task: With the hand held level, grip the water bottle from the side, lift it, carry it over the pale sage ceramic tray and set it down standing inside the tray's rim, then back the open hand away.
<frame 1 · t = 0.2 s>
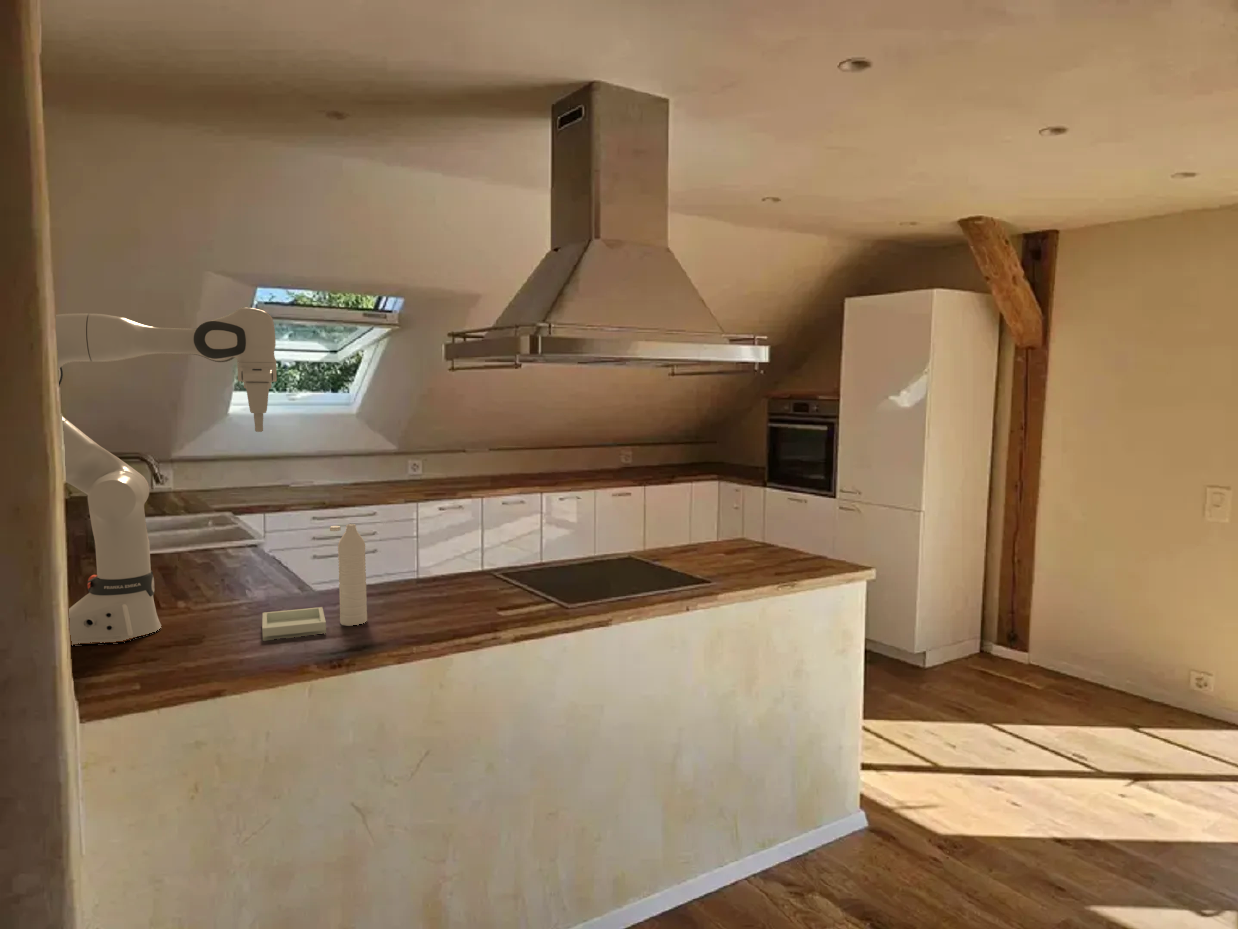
hand: (259, 430, 209), 48 cm above the worktop, tool pointing down, fingers open, 8 cm apart
sage tray: (294, 629, 205), on the worktop
water bottle: (349, 624, 210), on the worktop
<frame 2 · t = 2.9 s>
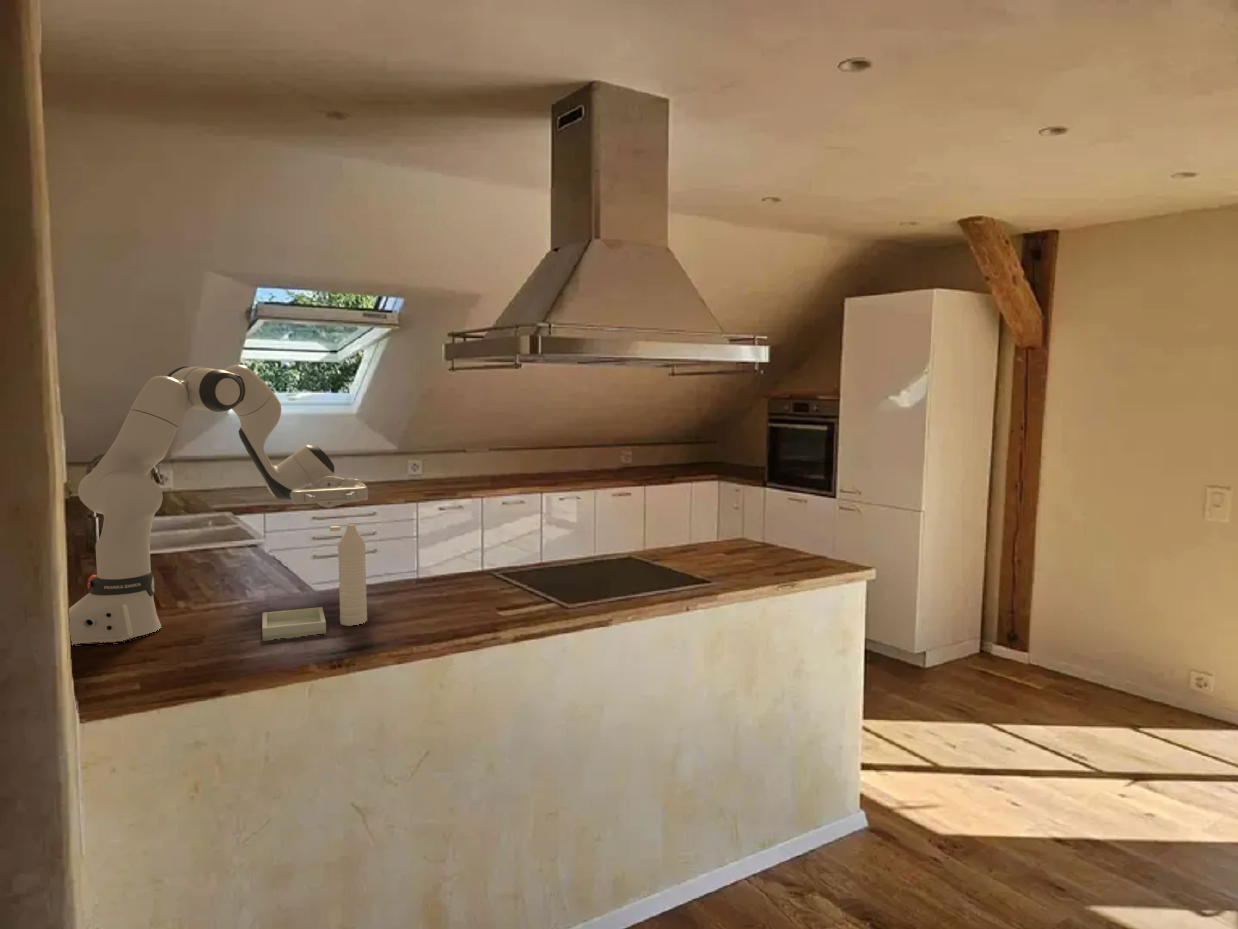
hand: (331, 498, 227), 28 cm above the worktop, tool horizontal, fingers open, 8 cm apart
nothing on the worktop moved.
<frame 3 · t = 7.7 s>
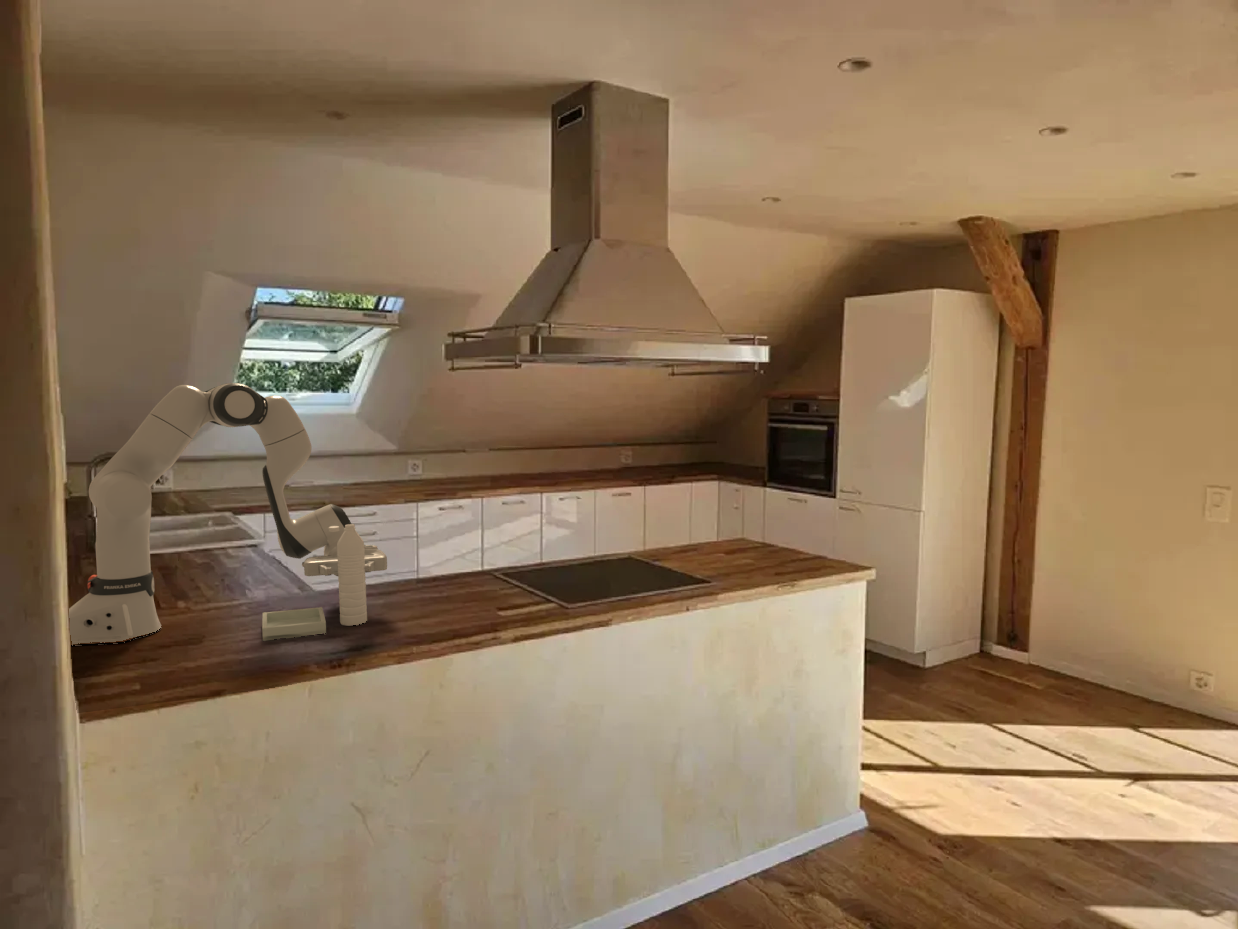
hand: (348, 570, 208), 13 cm above the worktop, tool horizontal, fingers open, 8 cm apart
water bottle: (349, 624, 210), on the worktop, touching gripper
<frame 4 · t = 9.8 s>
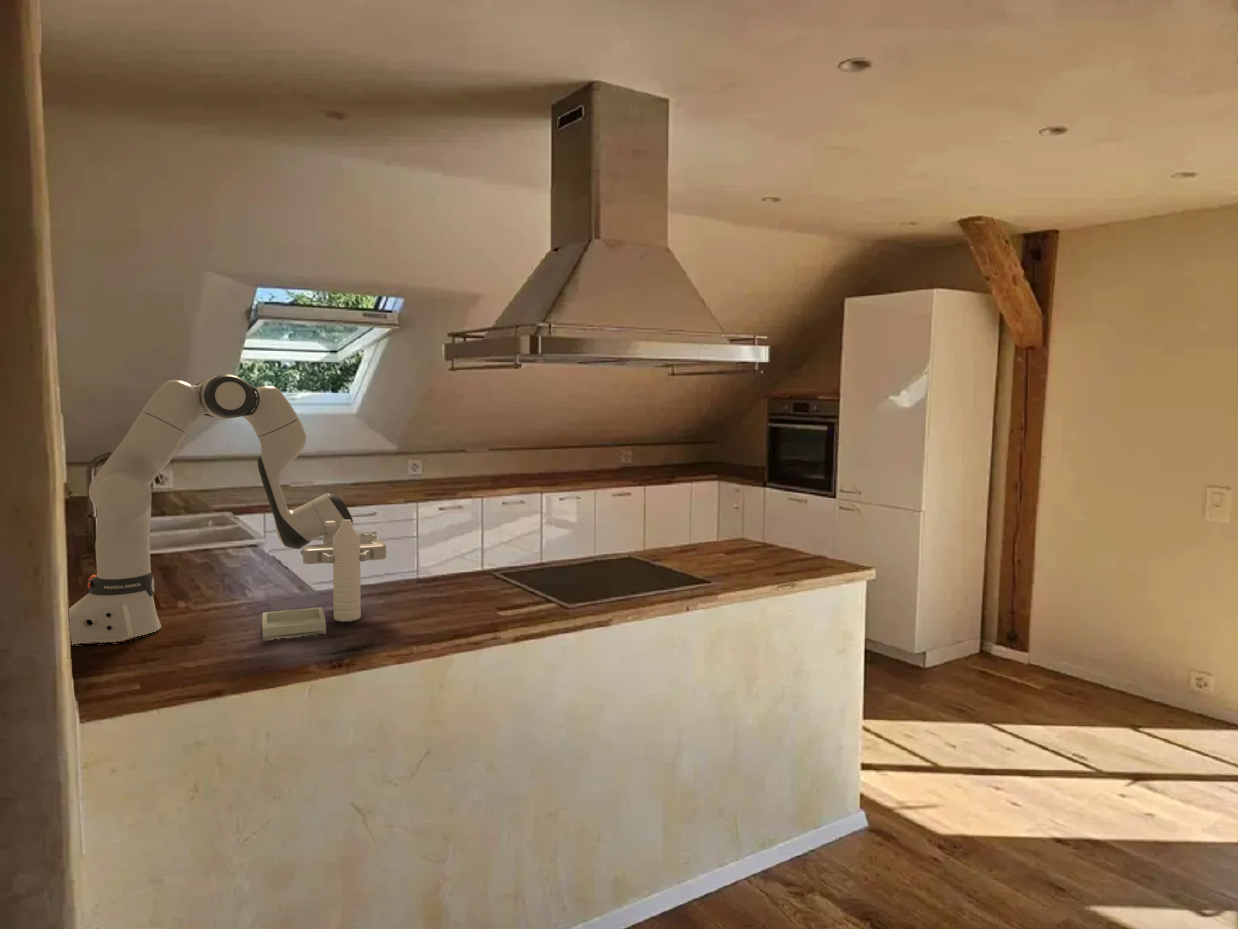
hand: (347, 559, 207), 17 cm above the worktop, tool horizontal, fingers closed on water bottle, 6 cm apart
water bottle: (343, 619, 209), point 1 cm above the worktop, touching gripper
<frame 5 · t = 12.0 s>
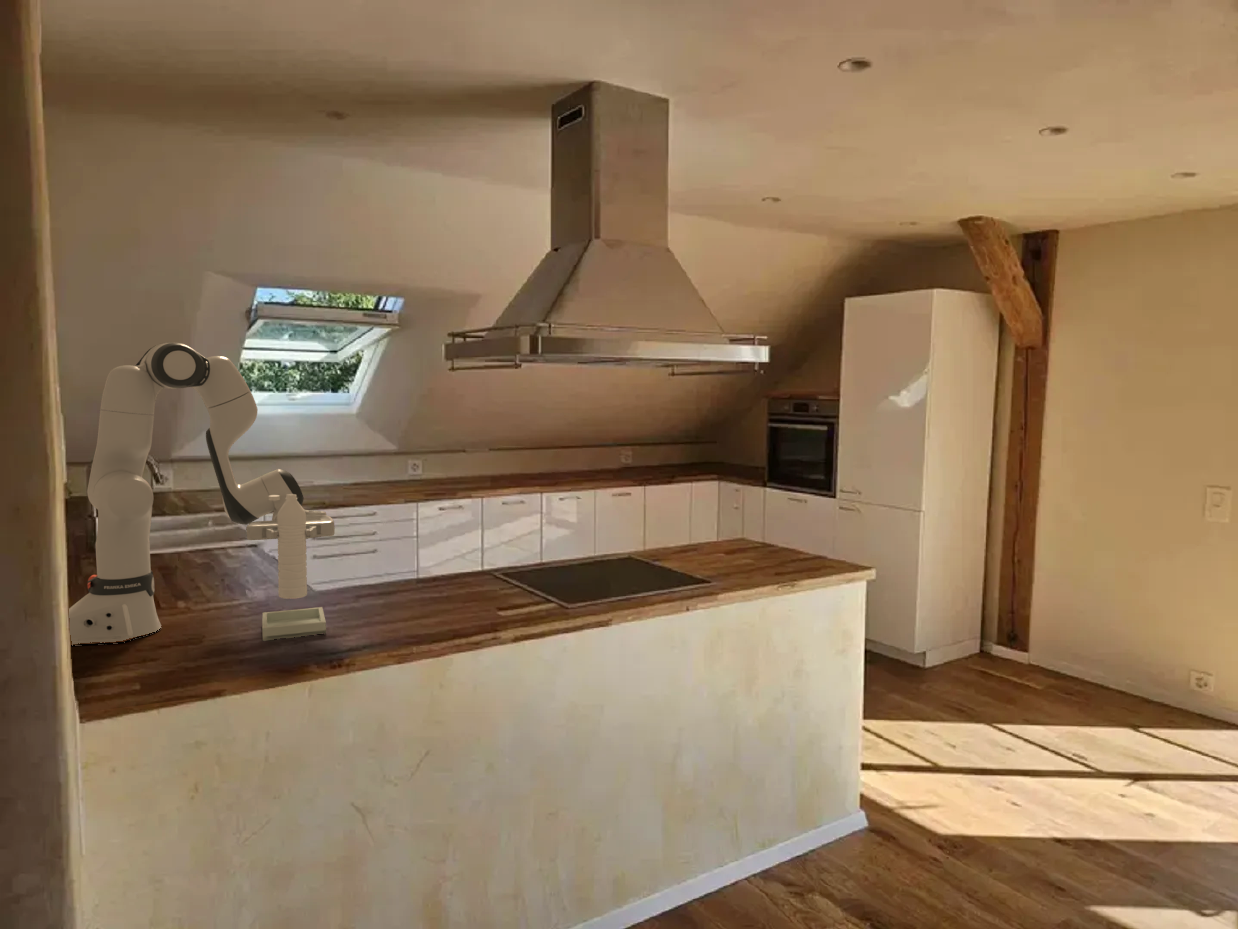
hand: (292, 534, 202), 24 cm above the worktop, tool horizontal, fingers closed on water bottle, 6 cm apart
water bottle: (288, 597, 204), point 8 cm above the worktop, touching gripper
when the fingers open (18 cm above the worktop, at t = 14.4 s): water bottle drops 2 cm, resting on sage tray.
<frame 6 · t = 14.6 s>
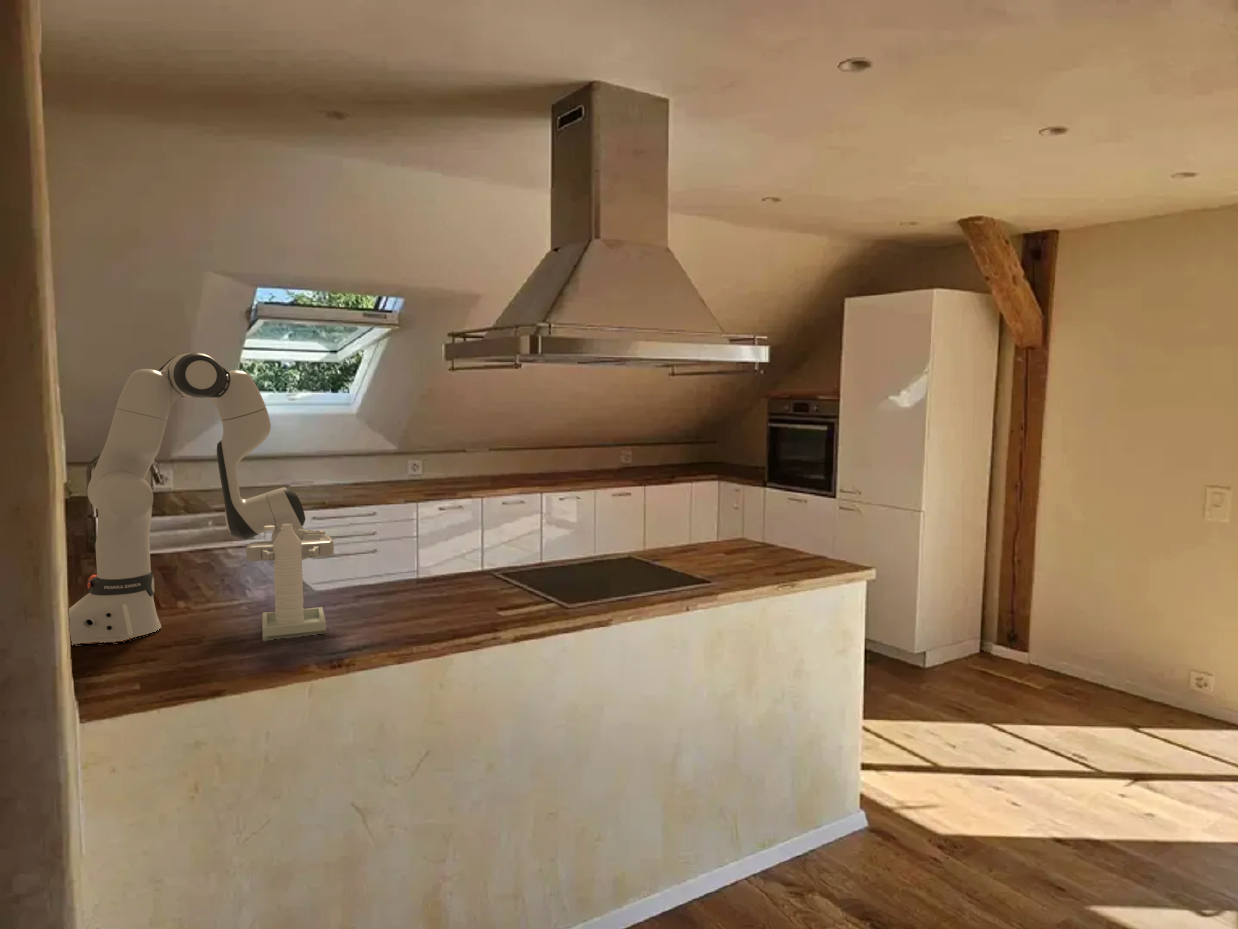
hand: (291, 555, 202), 18 cm above the worktop, tool horizontal, fingers open, 8 cm apart
water bottle: (285, 626, 204), point 1 cm above the worktop, touching gripper, sage tray
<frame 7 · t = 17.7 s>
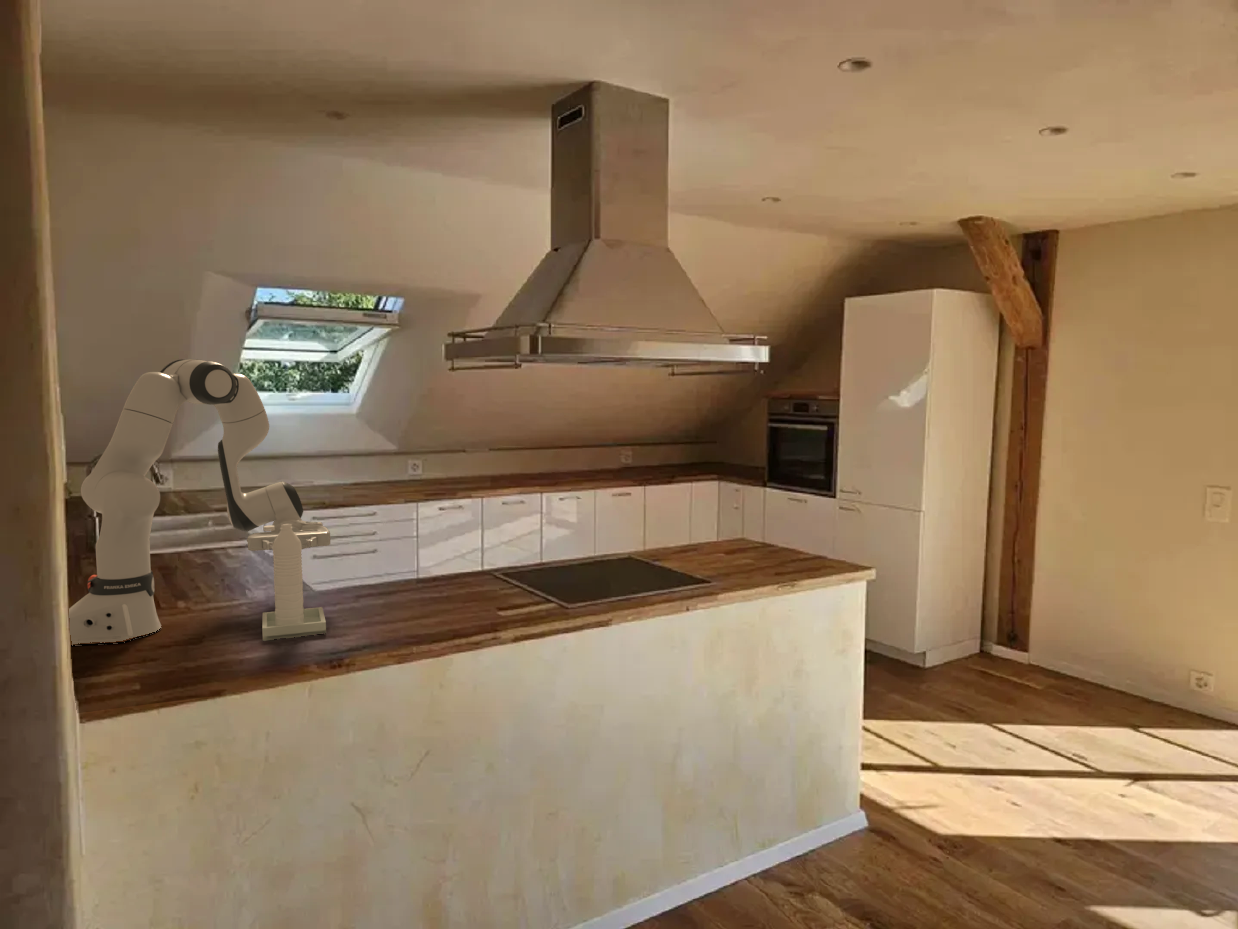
hand: (290, 545, 214), 19 cm above the worktop, tool horizontal, fingers open, 8 cm apart
water bottle: (285, 626, 204), point 1 cm above the worktop, touching sage tray
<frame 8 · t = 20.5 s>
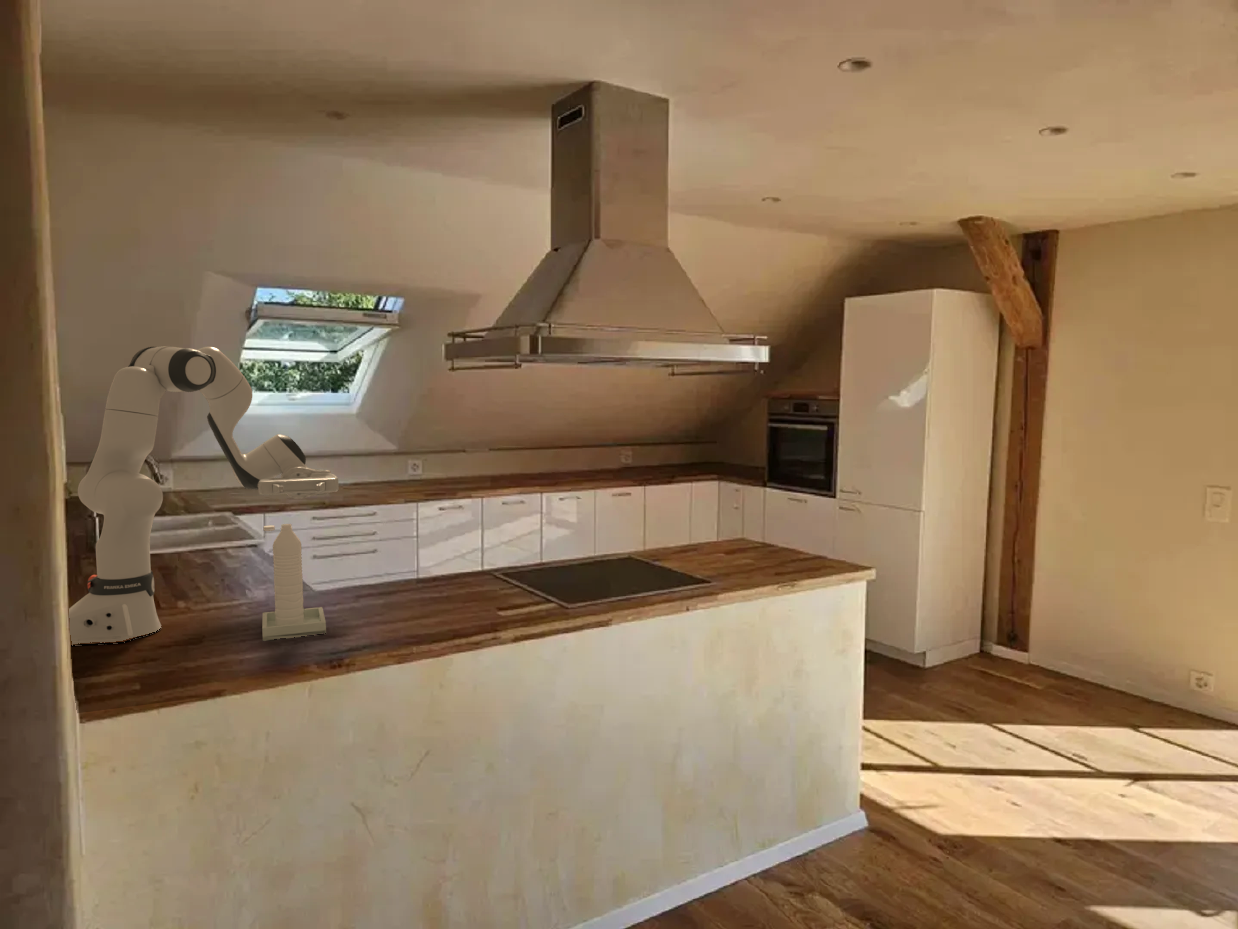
hand: (299, 489, 220), 32 cm above the worktop, tool horizontal, fingers open, 8 cm apart
nothing on the worktop moved.
at the end: water bottle inside the target area (1.9 cm from its centre), point 0.8 cm above the worktop; water bottle tilted 0°; the gripper is holding nothing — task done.
